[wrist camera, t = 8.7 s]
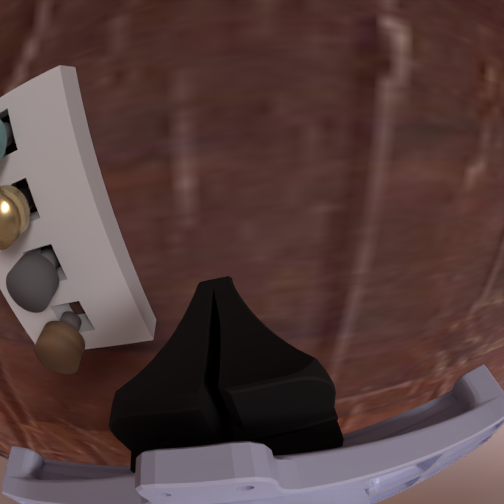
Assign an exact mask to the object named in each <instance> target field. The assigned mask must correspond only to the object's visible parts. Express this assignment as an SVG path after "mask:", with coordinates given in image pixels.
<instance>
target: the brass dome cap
mask: <svg viewBox="0 0 504 504" xmlns="http://www.w3.org/2000/svg"><path fill="white" fill-rule="evenodd" d="M33 205H34V200H33V197H32V194H31V191H30V190H29V189H28V188H26V187H21V188H19V189H17V188H16V187H14V186H12V185H2V186H0V250H5V249H7V248H9V247H10V246H11V245H12V244H13V243H14V242H15V241H16V240H17V239H18V238H19V237H20V236H21V235H22V234H23V233H24V232H25V231H26V229H27V227H28V225H29V222H30V209H32V207H33Z"/></svg>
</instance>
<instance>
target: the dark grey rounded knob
mask: <svg viewBox="0 0 504 504" xmlns="http://www.w3.org/2000/svg"><path fill="white" fill-rule="evenodd" d="M58 266H59V260H58V258H57V256H56V254H55V252H54V251H53V250H51V249H43V250H42V251H41V252H40V253H35V252H29V253H26V254H24V255H23V256H22V257H21V258H20V259H19V260H18V261H17V263H16V264H15V265H14V266H13V268H12V269H11V270H10V271H9V273H8V274H7V277H6V287H7V290H8V293H9V294H10V296H11V298H12V299H13V300H14V302H15V303H16V304H17V305H19V306H20V307H21V308H23V309H24V310H26V311H29V312H33V313H40V312H43V311H44V310H45V309H46V308H47V307H48V305H49V303H50V301H51V300H52V298H53V296H54V294H55V293H56V291H57V289H58V287H59V275H58V272H57V270H56V269H57V267H58Z"/></svg>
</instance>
